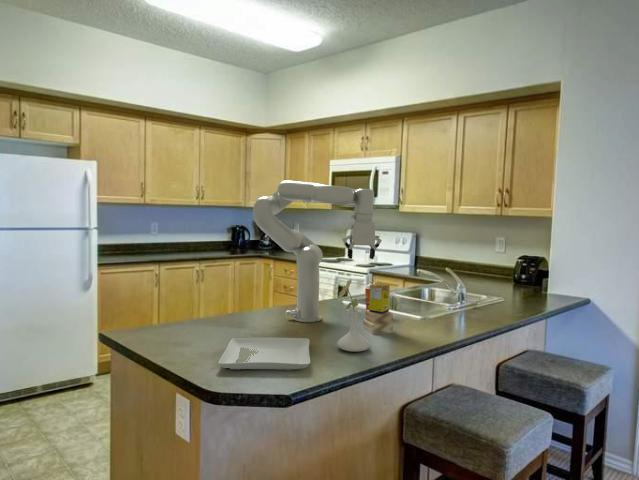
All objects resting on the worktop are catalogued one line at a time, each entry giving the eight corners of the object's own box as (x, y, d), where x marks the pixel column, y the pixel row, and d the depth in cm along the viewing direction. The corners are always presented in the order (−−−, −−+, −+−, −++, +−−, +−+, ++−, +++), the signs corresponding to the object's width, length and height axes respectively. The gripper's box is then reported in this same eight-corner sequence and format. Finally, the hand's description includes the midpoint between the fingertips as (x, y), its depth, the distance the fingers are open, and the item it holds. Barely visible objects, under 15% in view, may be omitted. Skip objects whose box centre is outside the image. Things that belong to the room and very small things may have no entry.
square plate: (309, 347, 166) (309, 336, 166) (310, 375, 139) (310, 362, 139) (231, 346, 165) (231, 335, 165) (217, 374, 138) (217, 361, 138)
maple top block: (374, 324, 185) (374, 314, 184) (365, 319, 192) (365, 310, 192) (392, 323, 187) (392, 313, 187) (382, 318, 195) (383, 308, 194)
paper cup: (361, 316, 214) (362, 285, 213) (367, 312, 221) (368, 283, 220) (377, 318, 211) (378, 287, 210) (383, 315, 218) (384, 284, 217)
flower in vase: (349, 342, 172) (351, 274, 170) (376, 349, 165) (378, 278, 163) (327, 350, 162) (328, 278, 160) (354, 358, 155) (356, 282, 153)
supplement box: (389, 311, 190) (390, 284, 189) (382, 314, 185) (383, 286, 184) (375, 309, 194) (376, 282, 193) (368, 311, 189) (369, 284, 188)
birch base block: (371, 334, 185) (372, 324, 184) (362, 328, 193) (363, 319, 193) (392, 333, 187) (393, 323, 187) (383, 327, 196) (383, 318, 196)
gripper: (346, 217, 193) (344, 259, 195) (385, 219, 198) (383, 260, 199) (341, 217, 201) (338, 257, 202) (378, 218, 205) (376, 257, 207)
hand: (360, 258), depth 201 cm, fingers open, 9 cm apart
